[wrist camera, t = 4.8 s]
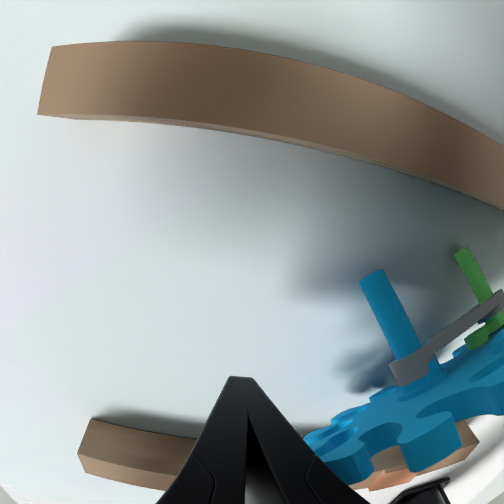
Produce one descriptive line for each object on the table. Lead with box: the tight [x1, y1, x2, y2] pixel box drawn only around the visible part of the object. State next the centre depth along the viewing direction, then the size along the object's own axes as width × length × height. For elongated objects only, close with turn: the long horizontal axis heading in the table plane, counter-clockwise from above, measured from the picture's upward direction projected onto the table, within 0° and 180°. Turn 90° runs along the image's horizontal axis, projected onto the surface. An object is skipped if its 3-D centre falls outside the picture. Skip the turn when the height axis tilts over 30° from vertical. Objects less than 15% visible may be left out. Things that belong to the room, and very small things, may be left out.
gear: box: [303, 247, 504, 485], centre depth 9 cm, size 11×6×10 cm
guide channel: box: [37, 41, 504, 491], centre depth 11 cm, size 24×18×3 cm
